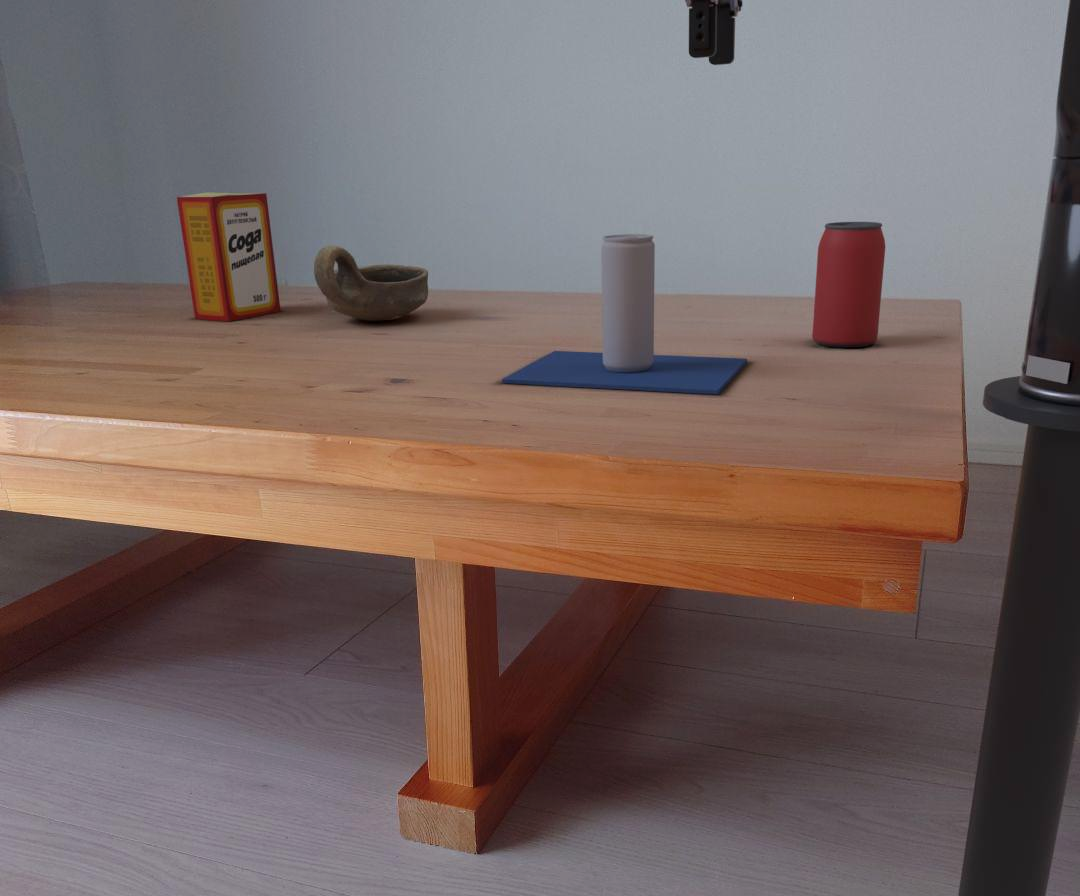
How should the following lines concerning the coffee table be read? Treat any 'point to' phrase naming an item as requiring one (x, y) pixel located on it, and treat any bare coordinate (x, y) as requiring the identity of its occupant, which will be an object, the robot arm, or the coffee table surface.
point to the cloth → (661, 376)
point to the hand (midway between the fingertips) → (712, 60)
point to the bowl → (369, 286)
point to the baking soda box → (229, 255)
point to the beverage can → (628, 302)
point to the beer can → (849, 284)
